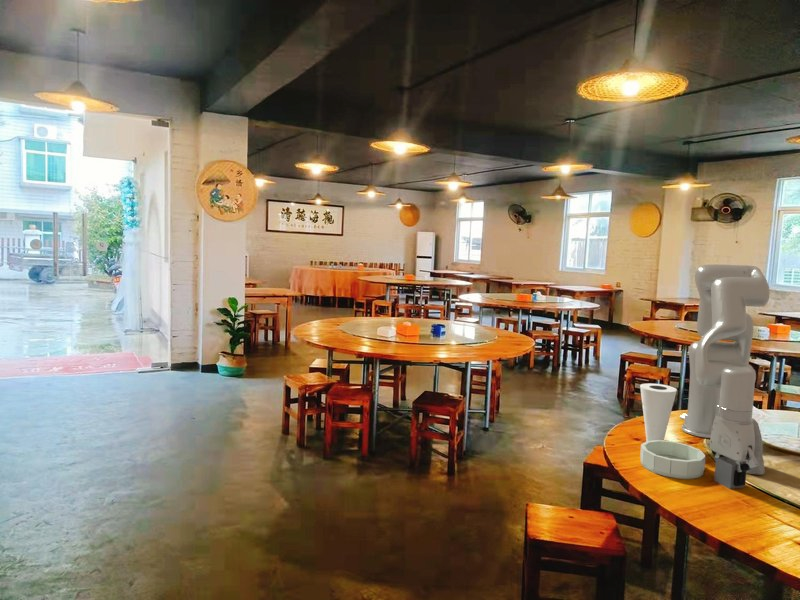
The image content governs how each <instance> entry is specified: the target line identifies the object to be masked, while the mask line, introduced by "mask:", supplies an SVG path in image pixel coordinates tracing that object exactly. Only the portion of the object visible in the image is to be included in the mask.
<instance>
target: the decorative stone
mask: <svg viewBox="0 0 800 600" xmlns="http://www.w3.org/2000/svg"><path fill="white" fill-rule="evenodd" d="M751 423H753V426H754V435H755V450H754V456H755V458H756V459H757V461H758V464H759V465H758V466H756V467H753V468H751V469H750V470H749V471H746V474H749V475H757V476H758V475H759V476H760V475H761V476H762V475H765V474H766V473H765V472H766V470H765V461H764V457H763V454H764V450H763V449H764V445H763V438H762V433H761V429H760V426H759V423H758V421H757V420H756V419H755V418H753V417H752V422H751ZM747 461H748V463H749V460H747Z"/></svg>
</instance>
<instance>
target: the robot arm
mask: <svg viewBox="0 0 800 600" xmlns="http://www.w3.org/2000/svg"><path fill="white" fill-rule="evenodd" d="M694 281H695V286H696V288H697V291H698V295H699V296H698V297H699V302H698V303H699V304H698V313H697V321H696V331H697V334H698V336H699V337H701V338H700V340H697V341H694V342H692V343H691V344H690V345H689V348H688V357H689V360H688V361H689V387H688V388H689V389H688V390H689V391H688V402H687V412H684V413H682V414H681V415H680V416H679V419H680V420H683V421H684V423H682V424H681V430H682V431H683V432H684V433H687V434H688V435H692V436H695V437H700V438H706V439H710V440H709V441H708V443H707V446H708V448H709V450H710V451H711V454H712V455H713V457H714V458H713V459H714V460H713V461H715V462H716V458H719V457H727V458H729V459H732V460H734V461H735V462H736V469H737V471H735V473H734V485H735V486H742V485H745V486H746V482H745V478H746V479H747V473H746V471H749V470H750V469H751V468H753V467H756V466H758V465H759V464H758V461H757V459H756V458H755V456H754V450H755V435H754V426H753V423H751V422H752V418H753V411H754V410H753V409H754V396H755V383H756V380H757V373H756V370H755V369H754V367H753V366H752V365H751V364H749V363H750V359H751V358H750V357H751V356H750V355H751V351H752V344H753V336H754V326H755V325H754V320H753V317H752V316H751V315H750V314H749V313H748V312H747V311H746V308H747V307H756V308H757V307H758V308H760V307H765V306H766V305H767V304H768V302H769V300H770V294H771V293H770V286H769V282H768V280H767V278H766V277H765V275H764V273H763V272H762V271H761V269H760V268H759V267H758V266H755V265H745V264H744V265H743V264H741V265H740V264H737V265H736V264H734V265H733V264H703V265H700V266H698V267H697V268H696V270H695V272H694ZM729 341H731V342H729ZM732 341H733V342H732ZM747 460H749V463H748V461H747ZM741 462H742V464H743V465H742V466H741Z"/></svg>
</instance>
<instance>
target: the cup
mask: <svg viewBox="0 0 800 600" xmlns="http://www.w3.org/2000/svg"><path fill="white" fill-rule="evenodd" d="M639 387H640V389H639V390H640V396H641V404H642V406H641V407H642V412H643V421H644V429H645V430H644V431H645V438H646V441H652V440H664V441H665V437H666V432H667V428H668V425H669V422H670V417H671V413H672V411H673V407H674V404H675V400H676V399H675V398H676V395H677V392H678V389H677V388H676V387H673V386H672V385H671V386H670V385H666V384H662V383H649V382H648V383H641V384H640V385H639ZM646 441H645V442H646Z"/></svg>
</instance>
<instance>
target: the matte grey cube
mask: <svg viewBox="0 0 800 600" xmlns="http://www.w3.org/2000/svg"><path fill="white" fill-rule="evenodd" d="M742 465H743V464H742V462H741V466H742ZM714 468H715V469H714V478H713V479H714V482H715V483H717V484H719V485H721V486H723V487H725V488H727V489H729V490H733V489H743V488H745V487H746V484H745V485H742V486H735V485H734V473H735V471H737V469H736V462H735V461H734V460H732V459H729V458H727V457H719V458H716V461H715V467H714ZM746 480H747V477H746V478H745V483H746V482H747V481H746Z"/></svg>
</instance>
